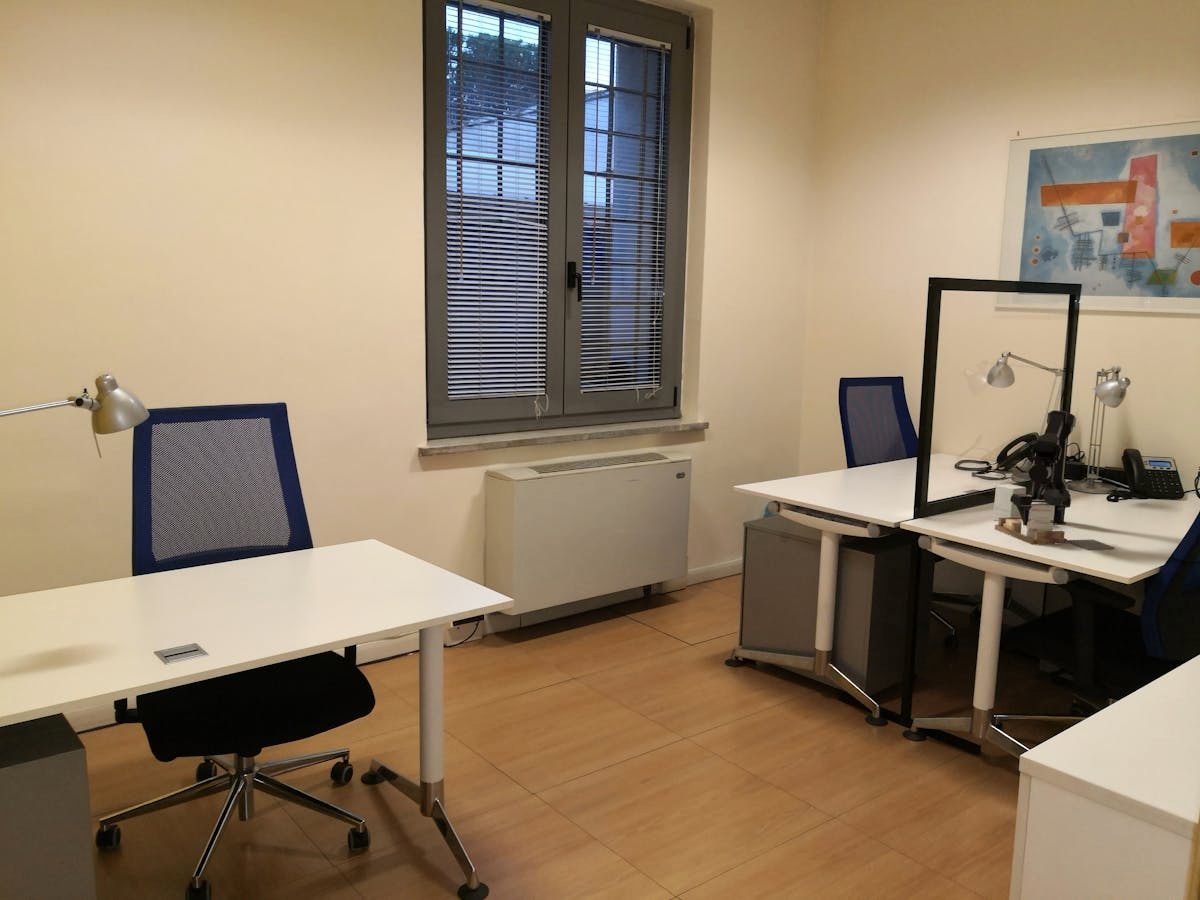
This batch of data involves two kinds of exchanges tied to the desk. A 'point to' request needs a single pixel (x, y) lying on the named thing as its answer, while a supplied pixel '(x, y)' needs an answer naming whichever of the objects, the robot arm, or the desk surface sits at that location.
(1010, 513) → the supplement box
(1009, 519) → the walnut rack
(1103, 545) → the dark grey mat
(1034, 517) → the ink box
